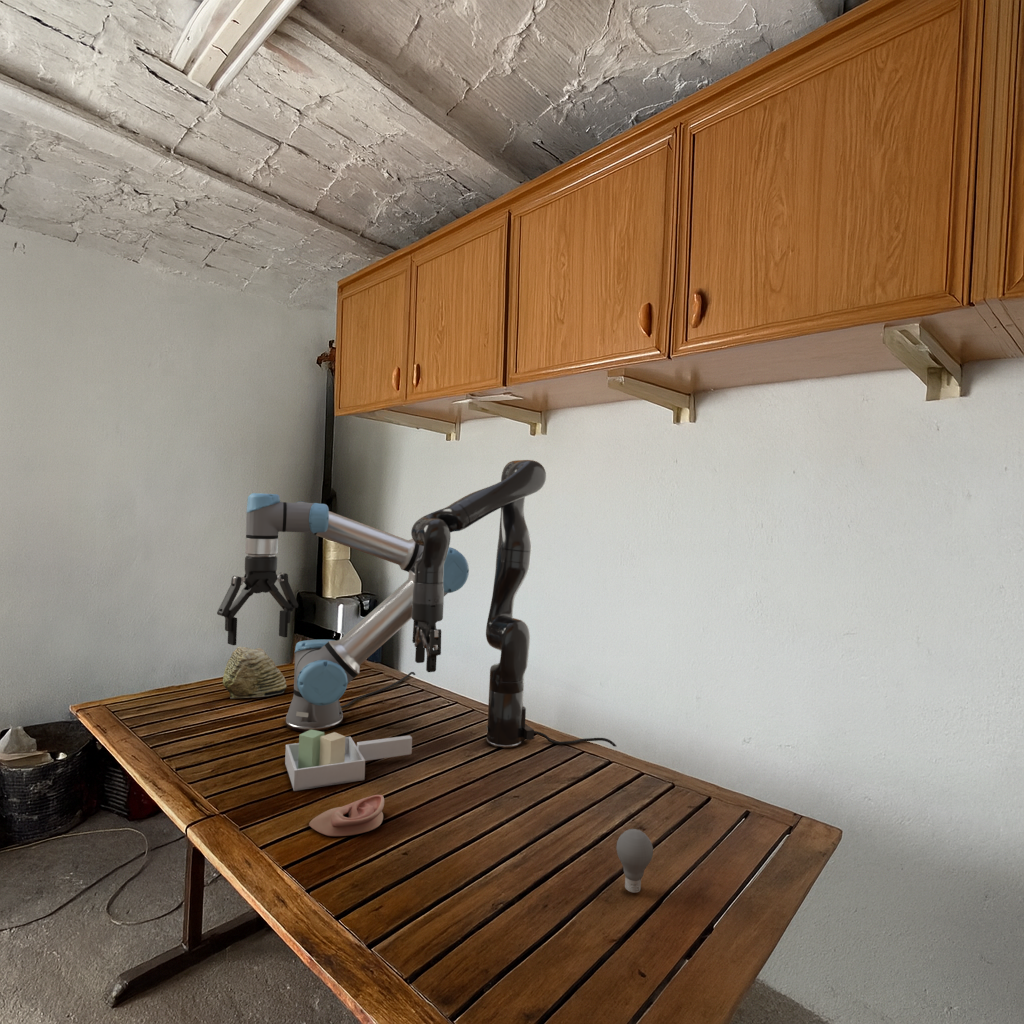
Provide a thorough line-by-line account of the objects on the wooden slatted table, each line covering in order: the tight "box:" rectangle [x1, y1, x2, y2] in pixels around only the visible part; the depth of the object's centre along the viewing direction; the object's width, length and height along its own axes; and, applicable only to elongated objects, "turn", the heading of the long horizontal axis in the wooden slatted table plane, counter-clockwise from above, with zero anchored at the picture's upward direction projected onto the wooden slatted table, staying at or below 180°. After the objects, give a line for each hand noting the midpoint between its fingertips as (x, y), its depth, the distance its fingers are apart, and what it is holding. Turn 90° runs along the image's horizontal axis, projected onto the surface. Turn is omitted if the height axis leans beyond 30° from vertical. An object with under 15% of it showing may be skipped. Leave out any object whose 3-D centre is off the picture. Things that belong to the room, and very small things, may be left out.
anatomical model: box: [308, 794, 385, 837], centre depth 124 cm, size 13×4×12 cm
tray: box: [284, 734, 413, 792], centre depth 149 cm, size 28×15×6 cm, turn 116°
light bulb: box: [615, 828, 654, 894], centre depth 106 cm, size 6×6×10 cm
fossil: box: [222, 646, 288, 699], centre depth 198 cm, size 9×18×15 cm, turn 132°
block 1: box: [298, 729, 326, 769], centre depth 146 cm, size 4×4×8 cm
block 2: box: [319, 731, 346, 766], centre depth 145 cm, size 4×4×8 cm
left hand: (258, 640), depth 158 cm, fingers open, 13 cm apart
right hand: (425, 666), depth 153 cm, fingers open, 8 cm apart
